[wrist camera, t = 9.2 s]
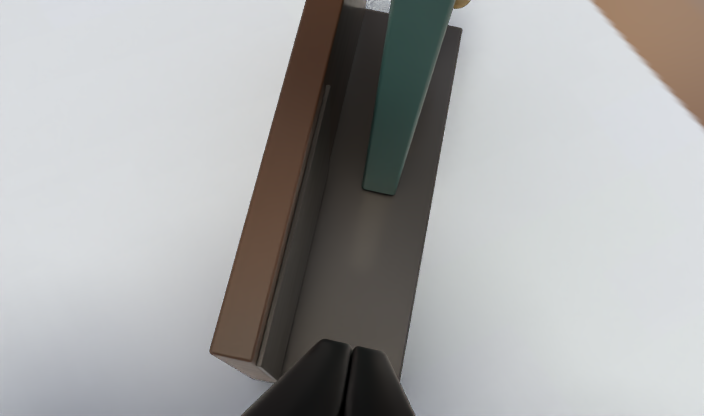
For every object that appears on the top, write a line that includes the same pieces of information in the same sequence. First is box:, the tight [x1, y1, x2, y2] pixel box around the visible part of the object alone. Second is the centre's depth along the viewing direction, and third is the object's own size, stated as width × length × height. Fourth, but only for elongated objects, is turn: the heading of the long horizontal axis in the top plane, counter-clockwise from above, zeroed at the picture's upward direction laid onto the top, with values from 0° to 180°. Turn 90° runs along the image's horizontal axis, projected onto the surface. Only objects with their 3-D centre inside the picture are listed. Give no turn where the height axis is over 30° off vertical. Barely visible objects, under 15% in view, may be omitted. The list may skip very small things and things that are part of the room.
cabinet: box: [209, 0, 462, 383], centre depth 16 cm, size 12×4×7 cm, turn 168°
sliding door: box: [362, 0, 471, 195], centre depth 15 cm, size 6×2×10 cm, turn 168°
